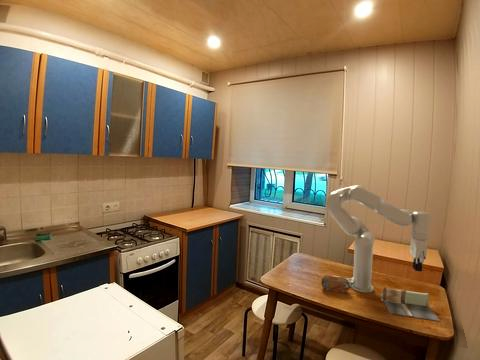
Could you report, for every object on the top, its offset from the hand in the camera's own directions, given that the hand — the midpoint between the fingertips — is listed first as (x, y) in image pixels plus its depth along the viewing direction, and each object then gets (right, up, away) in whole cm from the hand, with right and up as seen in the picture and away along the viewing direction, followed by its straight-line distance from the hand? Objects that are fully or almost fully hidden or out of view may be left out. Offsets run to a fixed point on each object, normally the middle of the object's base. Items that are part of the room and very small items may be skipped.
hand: (417, 269), depth 140 cm
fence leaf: (-2, -17, -3) cm, 17 cm away
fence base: (-8, -18, -4) cm, 20 cm away
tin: (-39, -16, +12) cm, 44 cm away
